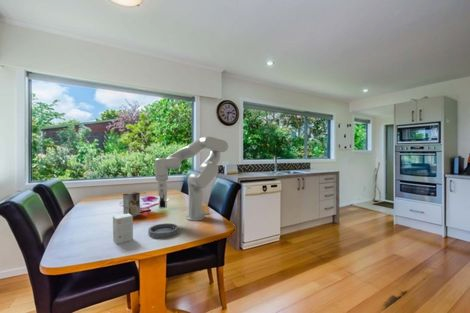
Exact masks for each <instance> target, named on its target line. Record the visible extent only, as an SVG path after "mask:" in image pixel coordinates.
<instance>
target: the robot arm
mask: <svg viewBox="0 0 470 313" xmlns="http://www.w3.org/2000/svg"><path fill="white" fill-rule="evenodd" d="M228 148H229V143H228V142H227V141H226V140H225V139H222V138H217V137H213V136H208V135H207V136H202V137H199V138H198V139H195V141H192V142H191V143H189V144H187V146H185V147H182V148H181V149H178V150H177V151H175V152H173V153H172V154H170V155H168V156H167V157H159V158H158V157H157V158H155V160H154V168H155V181H157V192H158V193H157V194H158V197H160V208H162V207H165V196H167V197H168V184H167V183H168V182H167V181H168V180H169V170H177V169H179V168H180V167H181V165H182V161H184V160H188V159H191V158H194V157H195V156H197V155H198V154H200V153H202V152H203V151H204V150H205V149H206V150H210V152H209V153H210V154H209V155H208V156H207V158H206V159H205V160H204V161H203V162H202V163H201V164H200V166H199V167H198V172H199V173H198V172H191V173H190V174H189V175H188V177H187V185H188V186H187V187H188V188H187V189H188V214H187V215H186V220H188V221H195V222H196V221H201V220H204V219H206V218H205V216H209V215H210V212H209V211H208V212H207V211H204V210H203V192H204V191H203V189H205V188H206V187H207V186H209V185H210V183H212V181H213V180H214V179H215V177H217V175H218V173H219V166H218V164H219V163H220V160H221V153H224V152H227V151H228ZM163 197H164V198H163ZM160 208H159V209H160Z"/></svg>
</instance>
